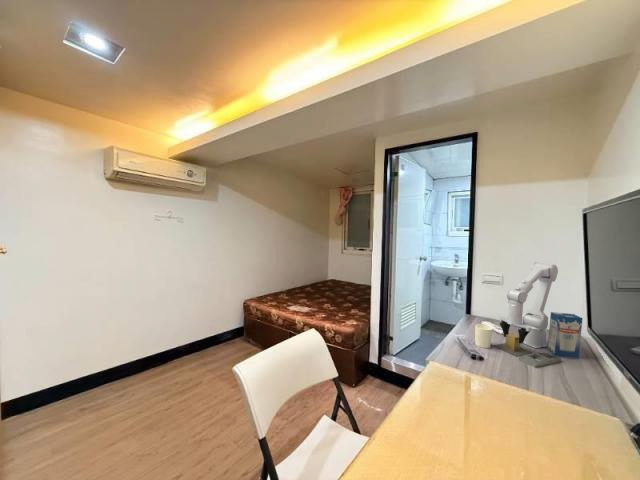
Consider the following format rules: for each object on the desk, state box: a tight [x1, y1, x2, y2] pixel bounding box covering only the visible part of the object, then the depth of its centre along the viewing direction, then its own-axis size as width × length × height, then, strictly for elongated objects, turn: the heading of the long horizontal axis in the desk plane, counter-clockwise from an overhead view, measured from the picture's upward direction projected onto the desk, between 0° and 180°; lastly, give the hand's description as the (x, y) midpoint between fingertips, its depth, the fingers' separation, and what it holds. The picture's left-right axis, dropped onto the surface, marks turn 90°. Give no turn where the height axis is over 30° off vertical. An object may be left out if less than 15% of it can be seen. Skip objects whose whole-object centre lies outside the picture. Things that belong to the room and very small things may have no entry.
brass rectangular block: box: [505, 333, 521, 351], centre depth 138 cm, size 4×4×7 cm
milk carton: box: [547, 311, 583, 360], centre depth 134 cm, size 10×6×20 cm, turn 76°
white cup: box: [474, 323, 494, 349], centre depth 141 cm, size 8×8×10 cm
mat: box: [492, 342, 534, 358], centre depth 138 cm, size 12×12×1 cm
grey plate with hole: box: [518, 350, 562, 368], centre depth 127 cm, size 18×7×2 cm, turn 110°
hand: (513, 339), depth 138 cm, fingers open, 7 cm apart
